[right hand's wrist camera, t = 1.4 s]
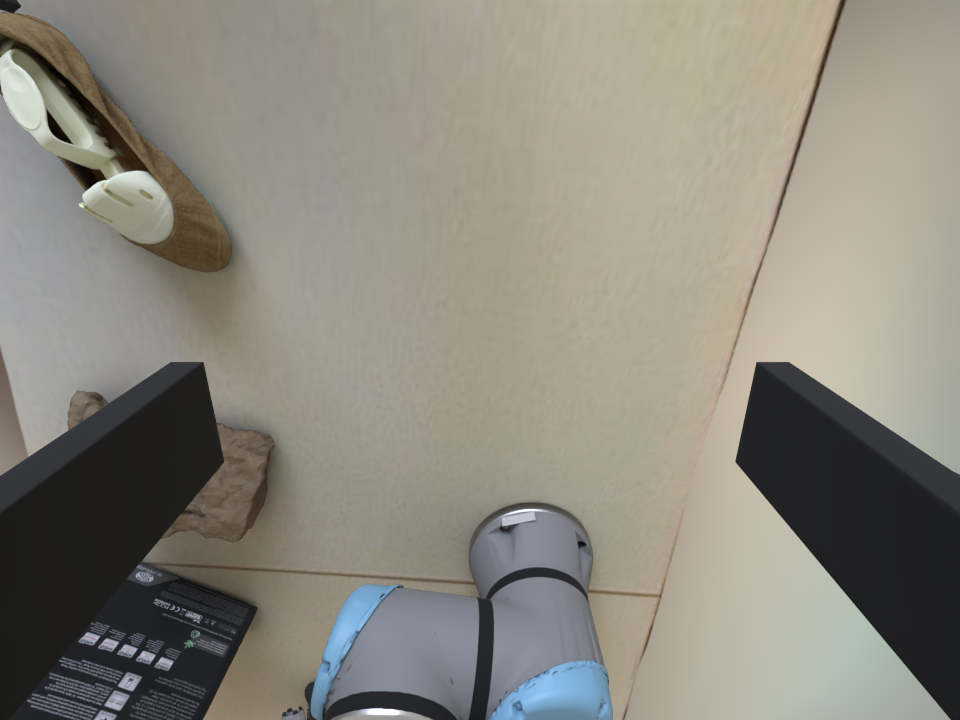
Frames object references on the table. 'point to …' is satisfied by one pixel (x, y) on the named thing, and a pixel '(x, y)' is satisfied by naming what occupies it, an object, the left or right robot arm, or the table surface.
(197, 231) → the ballet flat
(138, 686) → the graphics card box
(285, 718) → the robot
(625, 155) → the table surface
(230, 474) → the stone
